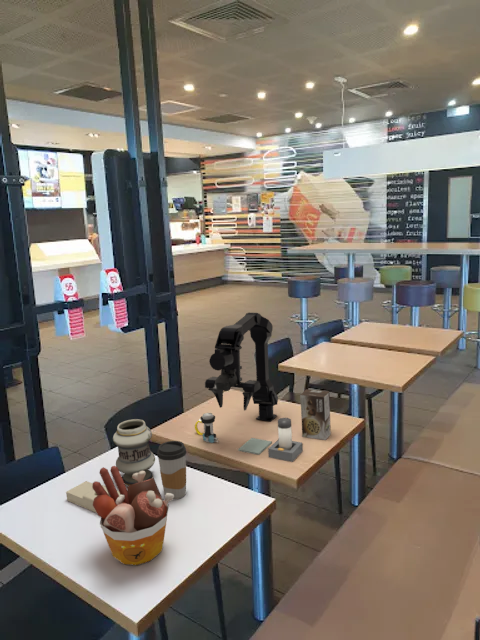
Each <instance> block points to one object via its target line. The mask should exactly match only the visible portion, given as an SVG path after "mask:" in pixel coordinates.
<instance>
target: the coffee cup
mask: <svg viewBox="0 0 480 640" xmlns="http://www.w3.org/2000/svg"><path fill="white" fill-rule="evenodd" d="M156 451H157V452H156V453H157V454H156V455H157V458H158V464H159V471H160V472H159V473H160V477H161V484H162V488H163V495H164V496H165V495H166V493H171V494H174V498H173V500H172V501H174V500H179V499H183V498H184V497H185V495H186V493H187V459H186V458H187V457H186V455H187V448H186V446H185V444H184V443H183V442H182V441H179V440H170V441H165V442H163V443H161V444H159V446H158V448H157V450H156Z"/></svg>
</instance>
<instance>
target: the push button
mask: <svg viewBox="0 0 480 640" xmlns="http://www.w3.org/2000/svg"><path fill="white" fill-rule="evenodd" d="M199 419H201V421H202V423H201V424H203V428H204V429H203V430H204V431H203V432H202V433H203V435H202V441H203V442H206V443H212V444H213V443H216V442H217V443H219V438H217V434H216V433H215V432H214V423H215V420H216V416H215V414H213V413H212V412H206V413H203V414H202V415H201V416H200V418H199Z"/></svg>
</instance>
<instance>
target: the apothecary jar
mask: <svg viewBox="0 0 480 640" xmlns="http://www.w3.org/2000/svg"><path fill="white" fill-rule="evenodd" d="M116 427H117V428H116V429H117V430H116V431H115V433H114V434H113V437H112V442H113V443H114V444H115V445H116V446H117V450H118V457H117V459H116V460H115V466H116V467H117V468H118V470H119V472H120V473H121V474H123V475H121V477H122V479H123V481H124V484H125V486H127V487H128V486H130V485H132V484H135V483H139V482H138V481H137V480H135V479H133V478H132V475H133V474H134V473H139V472H140V471H145V472H146V475H145V477H144V479H143V481H145V480H148V479H152V478H154V474H153V472H152V471H151V470H150V469H151V468H152V467H153V466H154V464H155V462H156V457H155V456H156V455H155V454H154V452H152V451H151V448H150V441H151V439H152V437H153V434H152V430H151V429H150V428H149V427H148V426H147V425H146V422H145V421H144V420H143V419H138V418H134V419H128V420H124V421H122V422H120V423H118V425H117V426H116Z"/></svg>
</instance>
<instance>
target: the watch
mask: <svg viewBox="0 0 480 640" xmlns="http://www.w3.org/2000/svg"><path fill="white" fill-rule="evenodd" d="M198 423H201V424H203V423H202V421H201V419H200V418H199V419H198V420H197V421H196V422H195V425H194V430H195V432H196V434H198V436H199V435H201V436H203V433H204V432H201V431H200V430H199V429H198Z"/></svg>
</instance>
